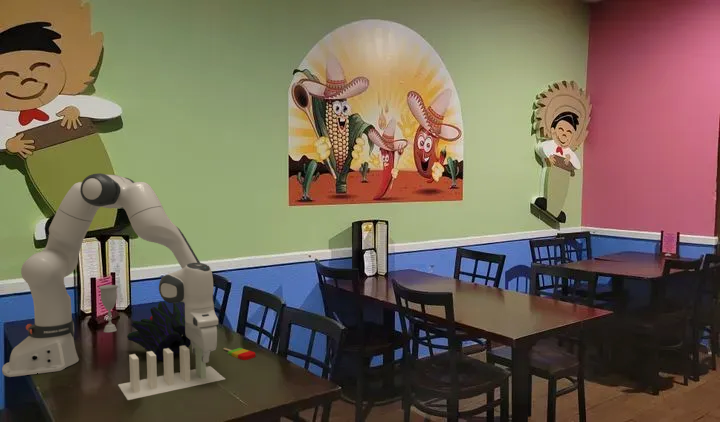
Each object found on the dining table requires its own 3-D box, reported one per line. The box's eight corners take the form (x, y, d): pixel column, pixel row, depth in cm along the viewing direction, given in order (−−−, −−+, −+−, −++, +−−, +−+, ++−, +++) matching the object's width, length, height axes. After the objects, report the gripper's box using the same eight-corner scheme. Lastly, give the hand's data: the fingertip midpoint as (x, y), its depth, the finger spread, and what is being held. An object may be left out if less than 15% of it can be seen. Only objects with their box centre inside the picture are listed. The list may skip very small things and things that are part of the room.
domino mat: (127, 401, 165) (127, 400, 165) (117, 385, 177) (117, 384, 177) (225, 380, 181) (225, 379, 181) (210, 367, 193) (210, 366, 193)
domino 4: (185, 382, 179) (184, 350, 178) (180, 377, 183) (179, 346, 182) (190, 381, 179) (189, 349, 179) (185, 376, 184) (184, 345, 183)
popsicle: (244, 361, 199) (244, 356, 199) (217, 352, 209) (217, 347, 209) (257, 357, 204) (257, 352, 203) (230, 349, 213) (229, 344, 213)
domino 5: (200, 372, 186) (200, 342, 186) (206, 377, 182) (205, 346, 181) (196, 373, 186) (195, 343, 185) (201, 378, 181) (200, 347, 181)
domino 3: (168, 385, 176) (167, 353, 175) (164, 380, 180) (163, 349, 179) (174, 384, 177) (173, 352, 176) (169, 379, 181) (168, 348, 180)
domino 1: (134, 392, 170) (133, 359, 169) (130, 387, 174) (129, 354, 174) (139, 391, 171) (138, 358, 170) (135, 386, 175) (134, 353, 175)
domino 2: (151, 389, 173) (150, 356, 172) (147, 383, 177) (146, 351, 176) (157, 387, 174) (156, 355, 173) (152, 382, 178) (151, 351, 177)
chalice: (123, 329, 236) (121, 286, 235) (108, 334, 230) (106, 289, 229) (112, 327, 240) (110, 284, 238) (97, 331, 234) (95, 287, 233)
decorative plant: (152, 388, 199) (131, 343, 222) (221, 349, 209) (194, 310, 232) (128, 344, 188) (109, 302, 212) (201, 305, 198) (175, 269, 222)
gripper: (179, 309, 189) (180, 350, 190) (200, 323, 172) (201, 369, 173) (198, 306, 193) (199, 347, 194) (220, 320, 176) (221, 365, 177)
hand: (200, 357), depth 183 cm, fingers open, 8 cm apart
